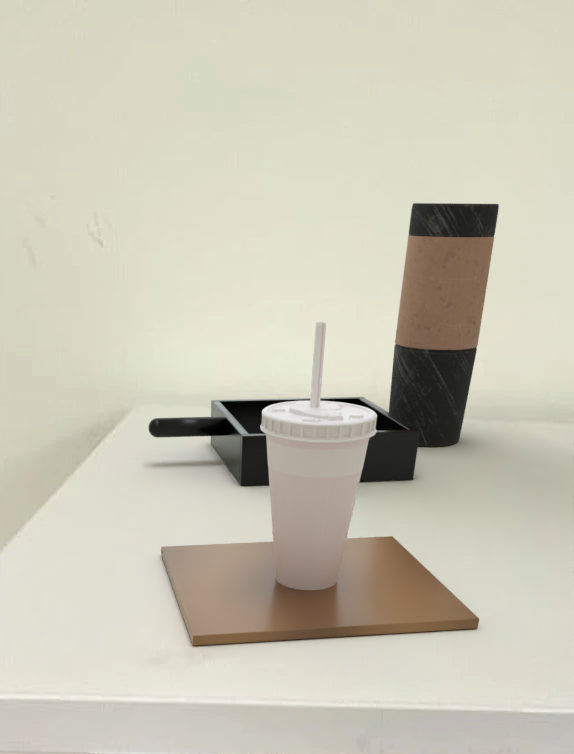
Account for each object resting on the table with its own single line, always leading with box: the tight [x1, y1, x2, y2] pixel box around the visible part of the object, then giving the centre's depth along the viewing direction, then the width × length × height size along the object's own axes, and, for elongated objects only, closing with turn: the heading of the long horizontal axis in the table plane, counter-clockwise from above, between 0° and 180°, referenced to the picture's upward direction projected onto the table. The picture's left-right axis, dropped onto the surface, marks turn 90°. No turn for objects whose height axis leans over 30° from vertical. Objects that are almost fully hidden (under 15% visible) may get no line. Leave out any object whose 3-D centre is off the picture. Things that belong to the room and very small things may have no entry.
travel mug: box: [388, 202, 500, 448], centre depth 81 cm, size 8×8×20 cm
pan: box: [147, 396, 420, 487], centre depth 77 cm, size 22×15×4 cm
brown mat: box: [160, 535, 480, 647], centre depth 53 cm, size 16×14×1 cm
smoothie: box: [260, 321, 377, 590], centre depth 49 cm, size 6×6×14 cm
